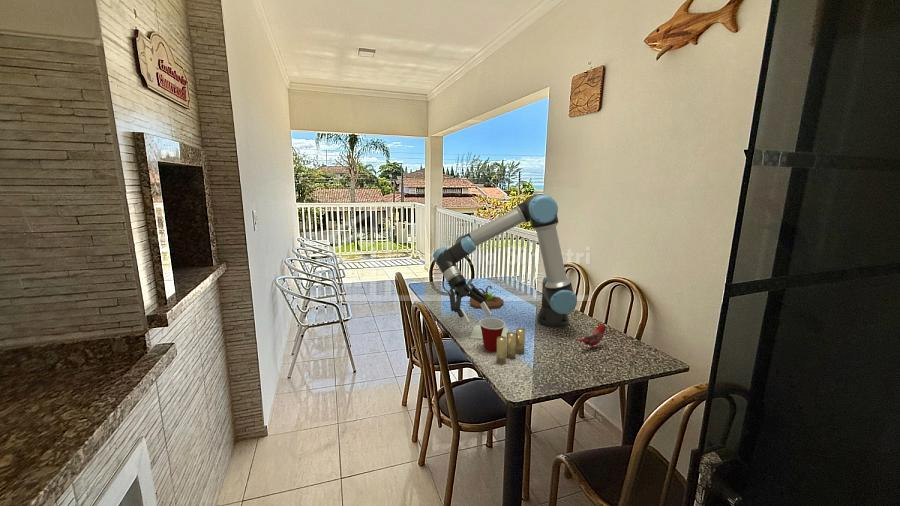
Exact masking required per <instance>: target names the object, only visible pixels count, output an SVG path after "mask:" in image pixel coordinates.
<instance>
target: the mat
mask: <svg viewBox="0 0 900 506" xmlns="http://www.w3.org/2000/svg"><path fill="white" fill-rule="evenodd" d="M509 330H510V329H509V327H508V326H505V327H504V328H503V331H502V335H501V336H504V337H506V339H507V333H508V332H509ZM469 339H470V340H471V339H474V340H481V341H483V337H482V330H481V326H480V324H475V325H474V328H473V329H472V332H471V334H470V336H469Z"/></svg>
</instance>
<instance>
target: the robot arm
mask: <svg viewBox="0 0 900 506" xmlns="http://www.w3.org/2000/svg"><path fill="white" fill-rule="evenodd" d="M558 206H559V205H558V203H557V201H556V200H555V199H554V198H553V197H552V196H551V195H549V194H544V193H543V194H541V193H538V194H537V193H536V194H533V195H531V196H530V197H528V198H527V199H525V200H524V201H522V202H520V203H519V204H517V205H516V206H515V208H513V209H512V210H509V211H508V212H506V213H504V214H502V215H500V216H498V217H496V218H494V219H492V220H490V221H489V222H486V223H485V224H483V225H482V226H479V227H477V228H476V229H474V230H472V231H470V232H467V233H466V234H464V235H461V236H459V237H457V239H456V240H455V243H454V244H453V245H452V246H450V247H449V248H447V247H445V246H443V247H440V248H437V249H436V250H435V251H434V252H433V254H432V257H433V260H434V262H435V264H436V265H437V267H438V269H439V270H440V272H441V273H442V275H443V277H444V279H445V281H446V282H447V285H448V286H449V290H448V291H447V294H448V296H449V303H450V311H451V312H453V313H456V314H457V316H458V317H459V318H460V319H461V320H462V322H463V324H464V325H465V326H467V325H468V324H469V323H470V322H471V321H470V319H469V317H468V315H467V314H466V312H465V310H464V309H463V308H462V307H461V305H462V298H466V297H468V298H473V299H474V300H476V301H477V302H479V303H481V304H480V306H481V308H482V309H481V310H482V311H483V313H484V314H485V316H486V318H490V316H491V315H492V312H491V309H489V308H488V305H487V304H486V302H485V300H486V299H487V297H486V296H485V295H483V294H482V293H483V292H481V290H480V289H479V288H477V287H475V285H474V284H473V283H470V284H469V285H468V284H467V280H466V278H465V276H464V275H463V274H462V272H461V270H460V268H459V267H458V265H457V263H459V262H460V261H462V260H463V259H464V258H466V257H468V256H469V255H470V254H473V252H475V251H476V250H477V246H480V245H482V244H483V243H486V242H487V241H490V240H492V239H494V238H495V237H498V236H499V235H501V234H503V233H505V232H507V231H509V230H511V229H513V228H515V227H517V226H519V225H520V224H522V223H523V224H527V223H529V222H530V225H531V229H533V230H535V231H536V235H537V240H538V244H539V249H540V254H541V259H542V263H543V267H544V272H545V277H543V278H542V282H541V284H542V286H541V287H542V289H541V290H542V291H541V292H542V293H541V307H540V308H539V312H538V314H537V323H538V324H540V325H542V326H545V327H551V328H565V327H568V325H569V323H570V318H569V315H568V314H569V313H571V312H573V311H574V310H575V309H576V307H577V305H578V298H577V296H576V294H575V293H574V289H573V284H572V280H571V279H569V278H568V277H567V272H566V268H565V264H564V258H563V255H562V249H561V244H560V241H559V240H560V239H559V235H558V230H557V226H558V224H559V217H558V211H559V207H558ZM478 289H479V290H478ZM481 300H482V301H481Z"/></svg>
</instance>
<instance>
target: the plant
mask: <svg viewBox="0 0 900 506" xmlns="http://www.w3.org/2000/svg"><path fill="white" fill-rule="evenodd" d="M477 289H478V290H479V291H482V292H481V293H482V294H483V295H485V296H486V297H487V299H486V300H485V302H486V304H487V305H488V308H489V310H499V309H501V308H503V307H504V304H505V303H504V302H505V301H504V299H502V298H501V297H499V296H496V294H493V292H489V293H488V289H491V290H492V289H493V286H492V285H487V287H486V288H485V289H483V288H477ZM481 301H482V300H481ZM480 304H481V303H479V302H477V301H476V300H474V299H473V298H471V297H469V306H470V307H471V308H472V307H473V309H475V310H483V309H482V308H481V306H480ZM502 306H503V307H502Z"/></svg>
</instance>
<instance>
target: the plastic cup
mask: <svg viewBox="0 0 900 506" xmlns="http://www.w3.org/2000/svg"><path fill="white" fill-rule="evenodd" d="M478 325H480V326H481V330H482V337H483V340H482V342H483V348H484V350H485V351H486V352H489V353H494V352H496V353H497V337H498V336H501V335H502V331H503V328H504V327H506V322H505V321H504V320H502V319H500V318H497V317H484V318H481V319H480V320H479V322H478Z"/></svg>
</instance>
